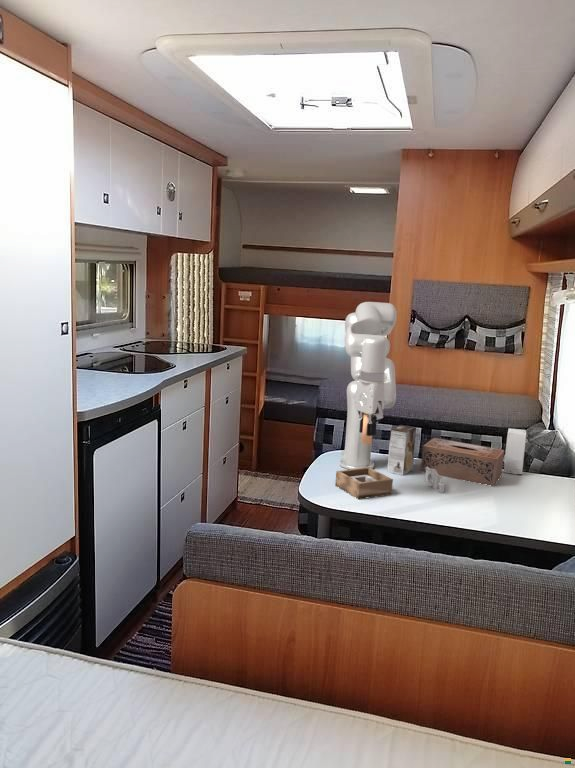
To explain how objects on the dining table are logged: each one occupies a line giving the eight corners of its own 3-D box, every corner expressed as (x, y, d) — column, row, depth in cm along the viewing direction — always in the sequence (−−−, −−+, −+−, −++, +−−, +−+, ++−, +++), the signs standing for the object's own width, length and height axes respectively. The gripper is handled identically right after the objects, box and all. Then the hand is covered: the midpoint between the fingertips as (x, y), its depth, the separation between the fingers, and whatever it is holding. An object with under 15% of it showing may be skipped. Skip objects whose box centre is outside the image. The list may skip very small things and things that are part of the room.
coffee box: (396, 466, 227) (400, 423, 224) (412, 469, 223) (416, 427, 221) (386, 472, 219) (390, 428, 216) (403, 475, 216) (407, 431, 213)
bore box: (335, 485, 201) (336, 471, 200) (367, 481, 207) (368, 467, 206) (357, 499, 190) (359, 483, 189) (391, 494, 196) (392, 479, 195)
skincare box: (521, 475, 224) (527, 434, 221) (502, 472, 226) (507, 431, 224) (521, 469, 232) (526, 429, 229) (503, 466, 234) (508, 427, 231)
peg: (359, 442, 196) (362, 405, 194) (367, 441, 198) (370, 405, 196) (365, 444, 194) (368, 407, 192) (373, 444, 195) (376, 407, 193)
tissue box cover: (501, 476, 222) (504, 450, 221) (493, 487, 210) (497, 459, 208) (431, 462, 234) (433, 437, 233) (420, 472, 222) (423, 445, 220)
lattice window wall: (444, 493, 200) (446, 476, 199) (439, 493, 200) (441, 476, 199) (428, 481, 212) (429, 464, 211) (423, 481, 211) (425, 464, 210)
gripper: (347, 373, 197) (343, 428, 201) (378, 382, 183) (372, 441, 186) (366, 372, 201) (362, 426, 204) (398, 381, 187) (392, 439, 190)
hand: (367, 433), depth 195 cm, fingers closed on peg, 3 cm apart
